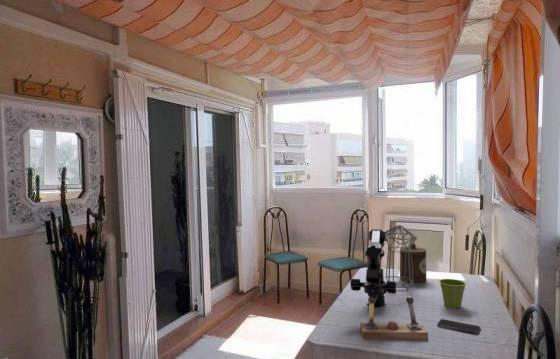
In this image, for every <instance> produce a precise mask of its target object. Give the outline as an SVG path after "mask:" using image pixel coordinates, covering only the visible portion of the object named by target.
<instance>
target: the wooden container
mask: <svg viewBox="0 0 560 359" xmlns="http://www.w3.org/2000/svg"><path fill="white" fill-rule="evenodd" d="M409 244H410V243H409ZM416 245H417V244H416V243H415V242H414V243H413V247H412V242H411V244H410V246H409V249H410V250H412V261H413V280H414V284H422V283H426V282H427V249H426V248H424V247H418V246H416ZM404 247H405V246H404ZM406 247H407V248H408V246H406ZM406 247H405V248H406ZM405 248H399V277H405ZM410 250H409V252H410ZM410 272H411V280H412V263H411V252H410ZM406 277H408V278H409V266H408V251H407V249H406ZM408 278H405V279H404V278H399V279H400V281H401V282H403V280H404V281H405V282H406V281H407V280H408ZM405 282H404V283H405ZM412 282H413V281H412ZM412 282H411V284H412ZM406 283H408V284H410V279H409V280H408V281H407V282H406Z"/></svg>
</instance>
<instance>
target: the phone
mask: <svg viewBox="0 0 560 359" xmlns="http://www.w3.org/2000/svg"><path fill="white" fill-rule="evenodd" d="M436 326H437V328H442V329H447V330H452V331H456V332H460V333H465V334H471V335H474V336H476V335H477V336H478V335H479V333H480V331H481V326H480V325H476V324H471V323H470V324H469V323H465V322H458V321H455V320H449V319H446V318H445V319H443V318H442V319H439V321H438V322H437V325H436Z"/></svg>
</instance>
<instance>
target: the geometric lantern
mask: <svg viewBox="0 0 560 359" xmlns="http://www.w3.org/2000/svg"><path fill="white" fill-rule="evenodd" d="M403 231H404V232H403ZM385 232H386V241H385V242H386V243H387V257H386V268H385V269H386V271H385V279H386V281H391V279H390V278H392V281H395V278H399V279H400V278H404V279H405V278H408V277H406V249H407V251H408V266H409V278H408V280H409V279H410V283H408V282H407V281H408V280H407V281H406V282H404V280H403V281H398V282H397V281H395V282H396V292H408V291H409V287H411V286H412V285H414V284H415V283H414V280H413V261H412V250H410V249H409V247H410V244H411V243H412V247H413V243H415V241H416V240H417V239H418V237H417V236H415V234H413V233H412V232H411V231H409V230H408V229H406V228H405V227H404V226H403V225H400V224H399V225H395V226H393V227H392V228H390V229H388V230H386V231H385ZM396 235H397V237H396ZM407 235H409V236H410V238H408V237H407V238H405V237H406V236H407ZM389 239H390V240H391V239H392V241H391V244H389V242H390V241H389ZM406 240H407V241H406ZM399 241H402V242H401V243H400V242H399ZM405 241H406V242H405ZM394 242H395V243H396V244H397V245H396V246H392V245H393V243H394ZM408 243H409V244H408ZM406 244H408V246H407V245H406ZM400 245H404V246H400ZM405 247H406V248H405ZM407 247H408V248H407ZM392 248H395V249H394V250H392ZM398 248H399V249H400V248H405V277H400V276H397V275H396V276H394V274H395V269H394V266H395V264H394V260H395V259H394V258H395V257H394V254H395V253H399V251H396V249H398ZM409 250H410V252H411V263H412V280H411V272H410V252H409ZM391 261H392V262H391ZM391 263H392V264H391ZM391 265H392V276H391ZM412 281H413V282H412ZM411 282H412V283H411ZM397 288H399V289H397ZM400 288H402V289H400ZM404 288H405V289H404Z"/></svg>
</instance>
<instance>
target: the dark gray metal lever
mask: <svg viewBox="0 0 560 359" xmlns="http://www.w3.org/2000/svg"><path fill="white" fill-rule="evenodd" d="M367 300H368V302H367V303H369V305H368V306H369V308H368V321H367V323H368V324H369V325H375V323H376V322H375V315H374V314H375V307H374V302H375V298H374V297H373V296H370V297H369V296H368V298H367Z"/></svg>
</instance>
